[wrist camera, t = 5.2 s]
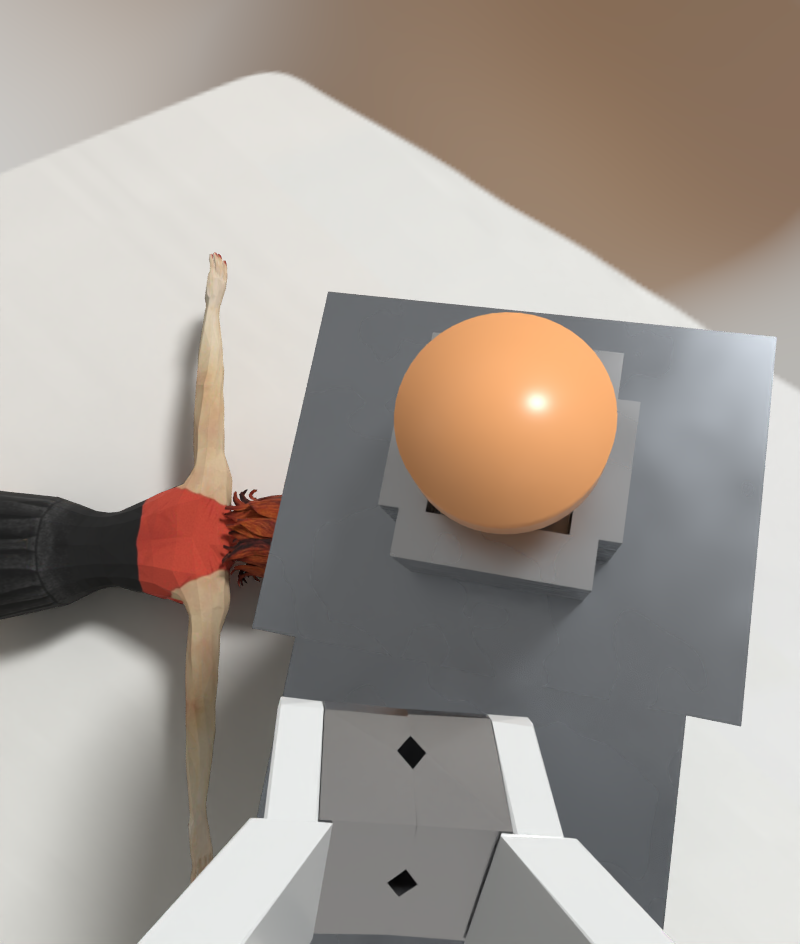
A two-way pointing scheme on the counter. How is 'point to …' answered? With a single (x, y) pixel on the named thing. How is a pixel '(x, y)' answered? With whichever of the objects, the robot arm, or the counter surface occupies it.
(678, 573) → the housing
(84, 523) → the figurine
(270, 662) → the counter surface
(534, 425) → the plunger
